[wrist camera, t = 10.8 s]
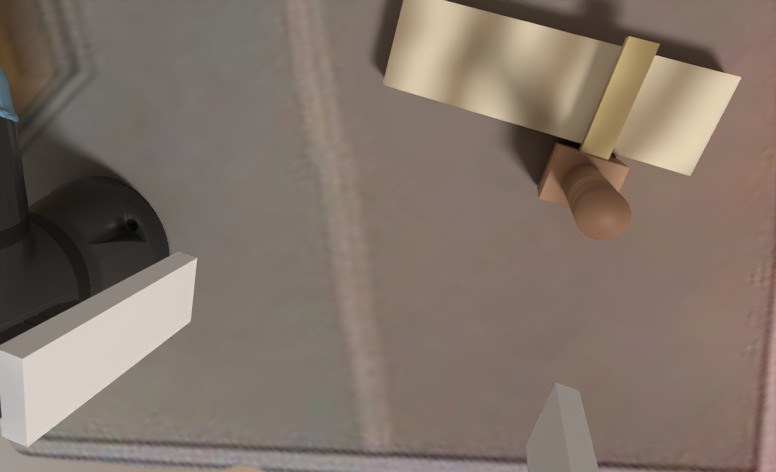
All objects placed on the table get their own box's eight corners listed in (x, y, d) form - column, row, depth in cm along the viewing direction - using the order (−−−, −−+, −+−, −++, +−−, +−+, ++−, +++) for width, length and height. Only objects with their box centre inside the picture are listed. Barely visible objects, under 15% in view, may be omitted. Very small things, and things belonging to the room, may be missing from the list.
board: (389, 84, 39) (382, 84, 37) (411, -5, 37) (405, -10, 35) (681, 171, 35) (690, 176, 34) (729, 77, 33) (741, 77, 31)
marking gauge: (537, 187, 39) (544, 233, 27) (597, 35, 34) (638, 10, 22) (597, 206, 38) (632, 263, 26) (667, 53, 33) (747, 36, 22)
